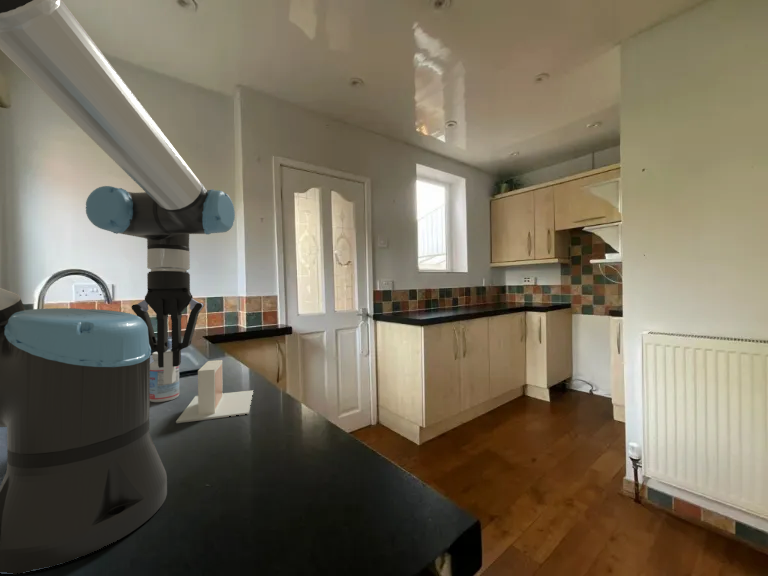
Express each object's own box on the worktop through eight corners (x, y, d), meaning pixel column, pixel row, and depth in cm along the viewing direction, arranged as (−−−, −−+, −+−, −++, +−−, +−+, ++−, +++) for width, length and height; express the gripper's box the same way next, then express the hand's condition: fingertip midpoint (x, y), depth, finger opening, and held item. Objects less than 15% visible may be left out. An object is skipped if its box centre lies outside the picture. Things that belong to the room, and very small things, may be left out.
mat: (248, 414, 67) (248, 412, 67) (176, 423, 63) (176, 421, 63) (253, 391, 82) (253, 390, 82) (195, 397, 78) (195, 396, 78)
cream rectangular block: (215, 413, 66) (214, 369, 67) (198, 415, 65) (197, 370, 66) (222, 398, 76) (222, 359, 76) (208, 399, 75) (208, 360, 75)
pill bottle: (148, 398, 78) (148, 351, 78) (178, 393, 82) (177, 348, 82) (148, 405, 73) (148, 355, 73) (180, 399, 77) (180, 352, 77)
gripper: (207, 272, 74) (207, 374, 74) (139, 271, 70) (140, 380, 70) (199, 270, 67) (200, 383, 67) (124, 269, 63) (125, 390, 63)
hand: (169, 382), depth 68 cm, fingers closed
